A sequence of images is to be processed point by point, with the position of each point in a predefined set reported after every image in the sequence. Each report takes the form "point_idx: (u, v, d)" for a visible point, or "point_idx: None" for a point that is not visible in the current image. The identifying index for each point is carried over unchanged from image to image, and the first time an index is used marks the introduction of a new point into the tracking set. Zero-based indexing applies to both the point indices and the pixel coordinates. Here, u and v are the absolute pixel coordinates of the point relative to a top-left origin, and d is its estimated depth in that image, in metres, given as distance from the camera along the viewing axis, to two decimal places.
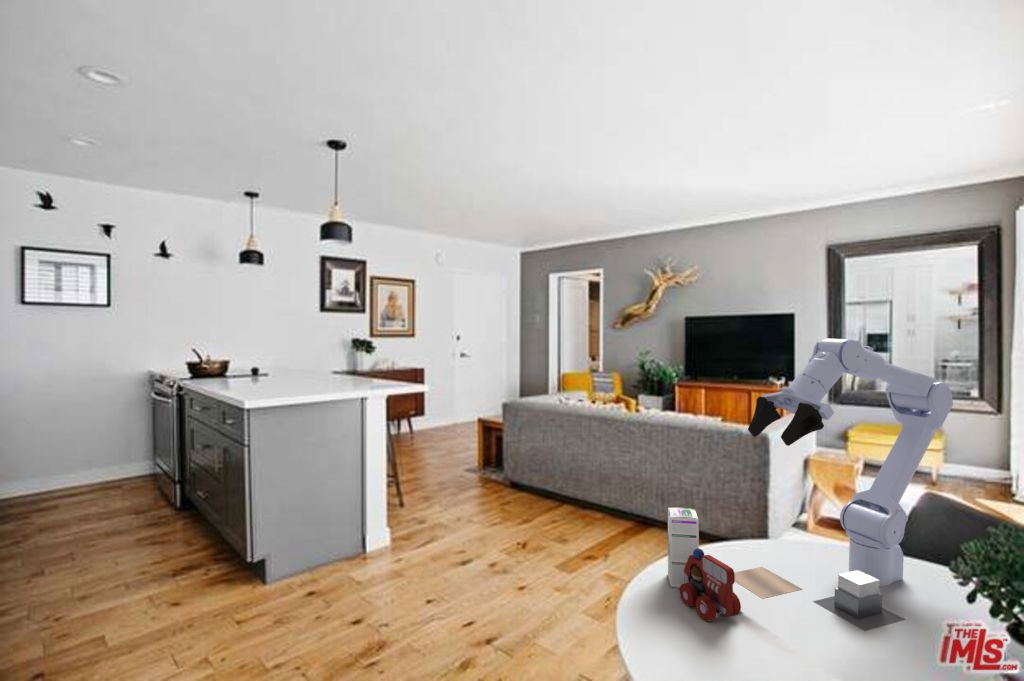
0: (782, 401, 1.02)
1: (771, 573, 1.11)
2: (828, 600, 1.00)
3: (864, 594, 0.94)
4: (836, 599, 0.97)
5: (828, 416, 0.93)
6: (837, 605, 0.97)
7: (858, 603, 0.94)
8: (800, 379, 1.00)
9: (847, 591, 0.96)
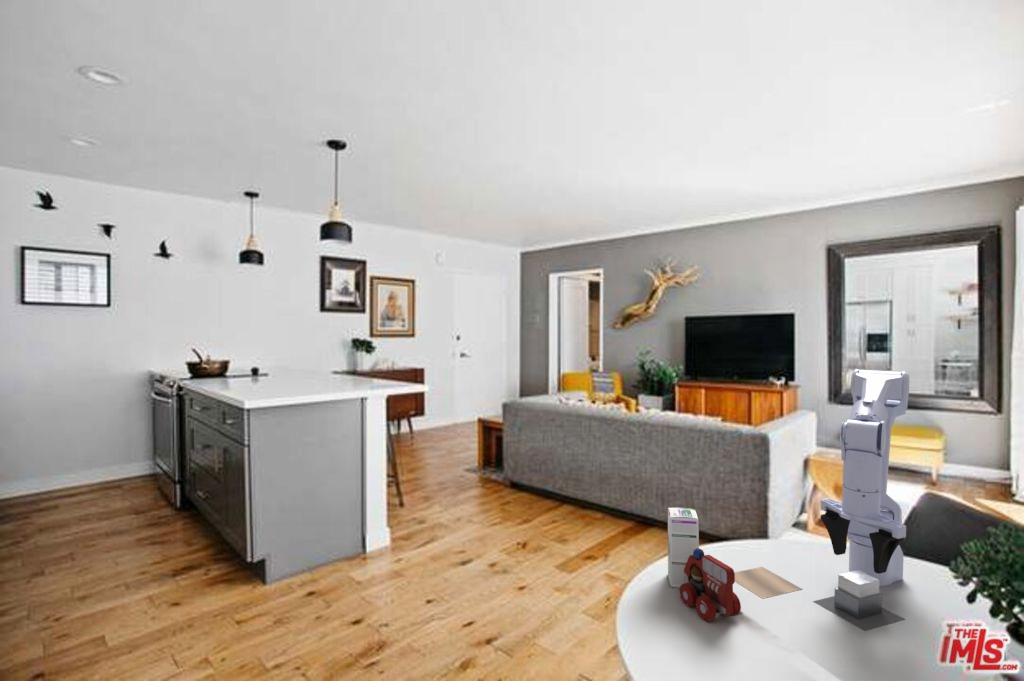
0: None
1: (771, 573, 1.11)
2: (828, 600, 1.00)
3: (864, 594, 0.94)
4: (836, 599, 0.97)
5: (904, 535, 0.89)
6: (837, 605, 0.97)
7: (858, 603, 0.94)
8: (850, 495, 0.95)
9: (847, 591, 0.96)
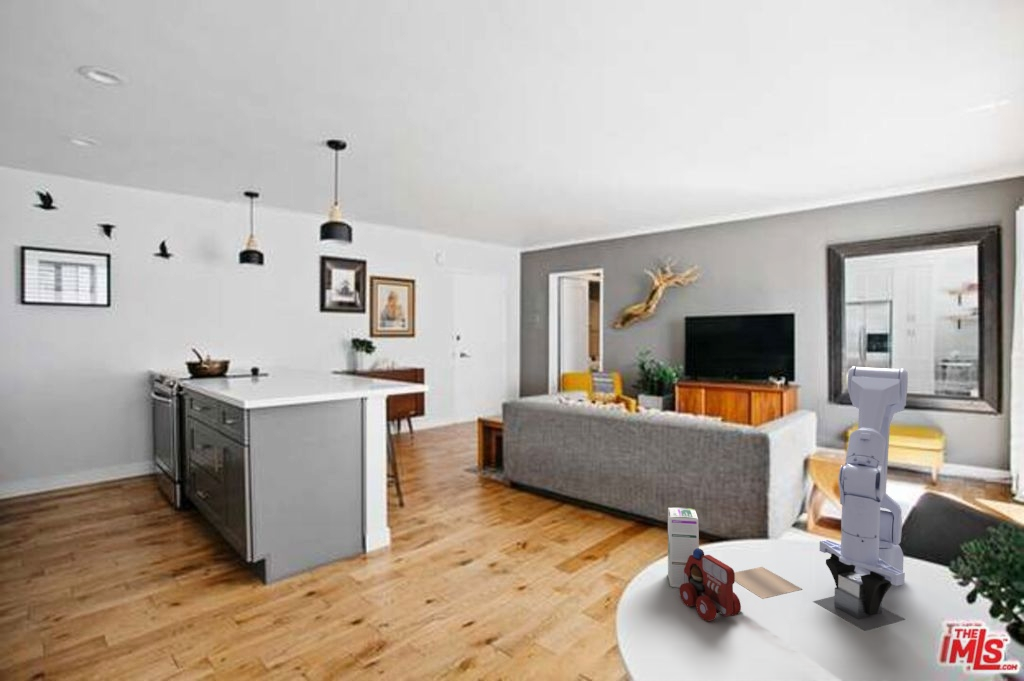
0: None
1: (771, 573, 1.11)
2: (828, 600, 1.00)
3: (864, 594, 0.94)
4: (836, 599, 0.97)
5: (902, 582, 0.90)
6: (837, 605, 0.97)
7: (858, 603, 0.94)
8: (848, 539, 0.95)
9: (847, 591, 0.96)
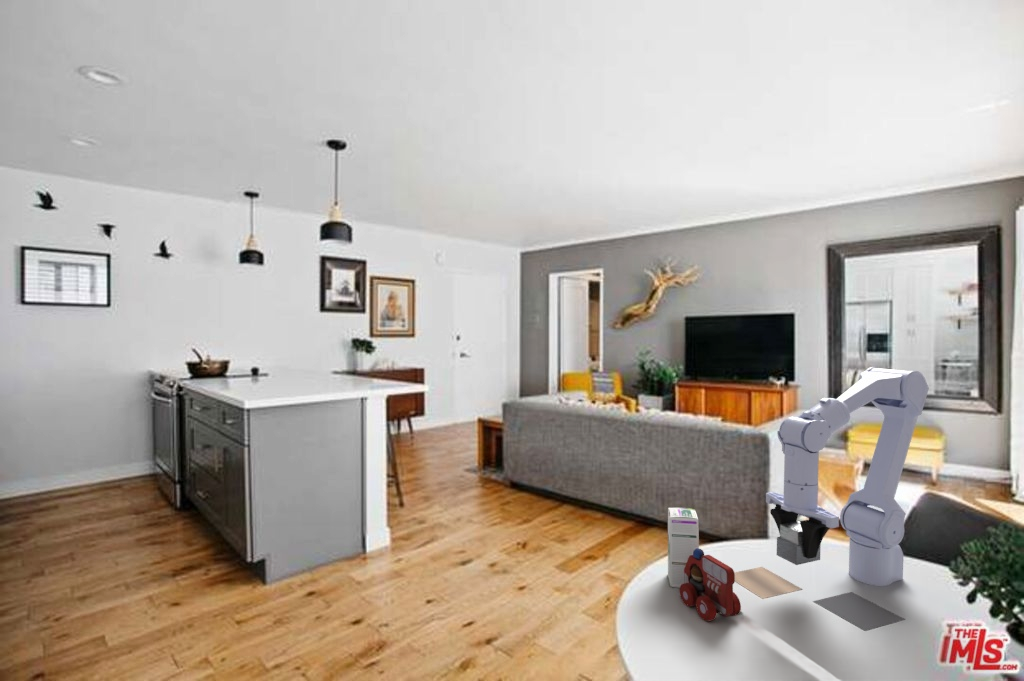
0: None
1: (771, 573, 1.11)
2: (828, 600, 1.00)
3: (803, 541, 1.00)
4: (778, 548, 1.03)
5: (837, 525, 0.96)
6: (779, 553, 1.03)
7: (797, 550, 0.99)
8: (789, 488, 1.01)
9: (787, 539, 1.02)
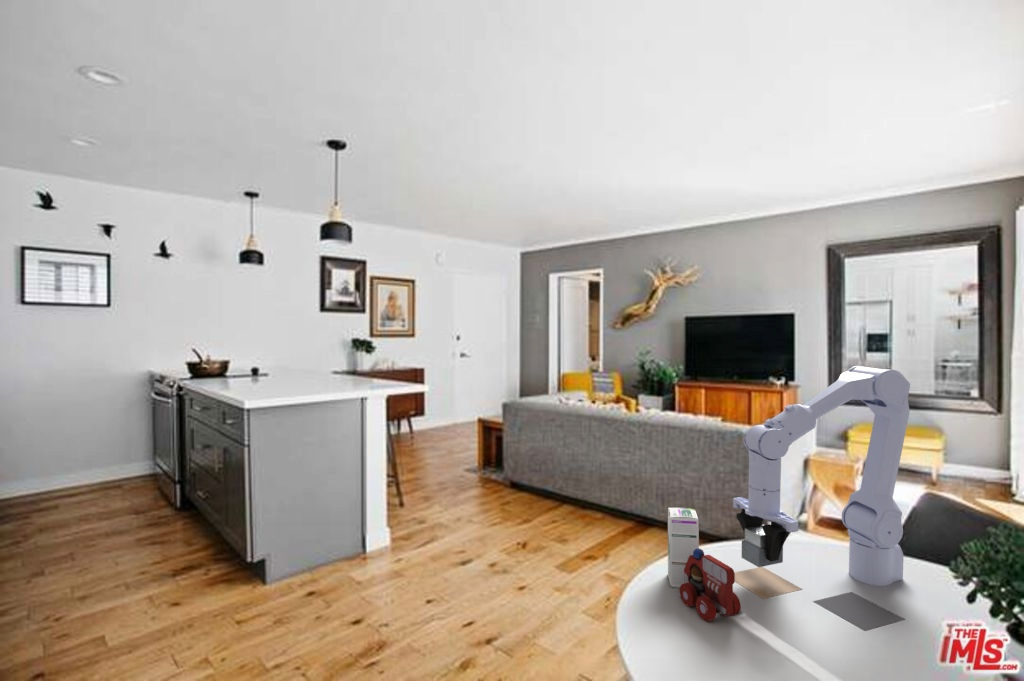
0: None
1: (771, 573, 1.11)
2: (828, 600, 1.00)
3: (765, 544, 1.04)
4: (743, 550, 1.07)
5: (796, 529, 1.00)
6: (744, 555, 1.07)
7: (759, 553, 1.04)
8: (753, 493, 1.05)
9: (751, 542, 1.06)
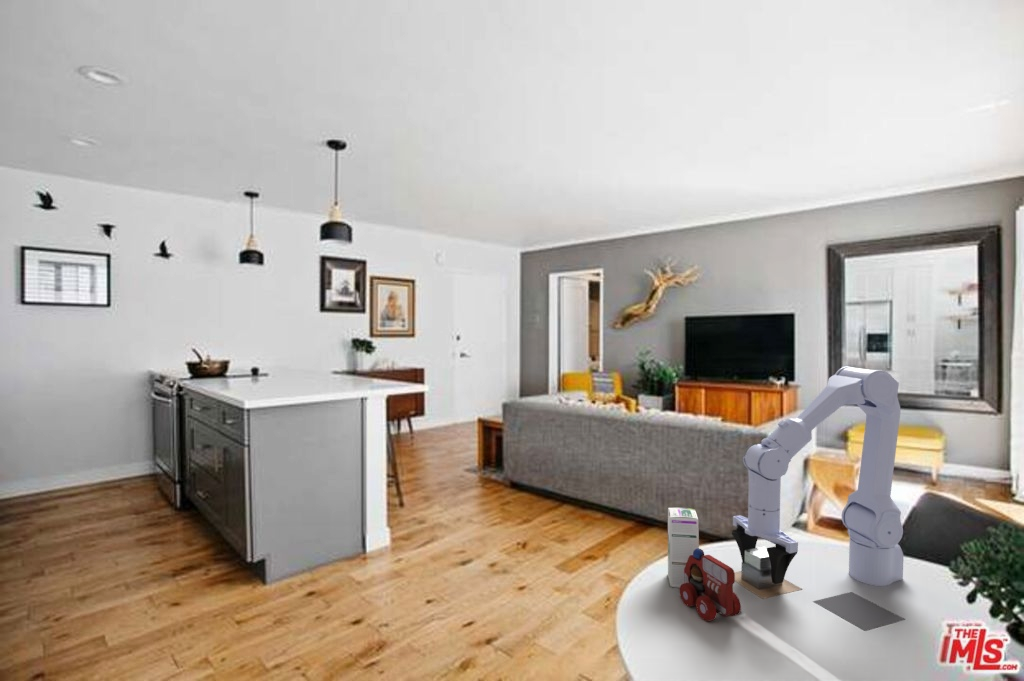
0: None
1: None
2: (828, 600, 1.00)
3: (765, 567, 1.05)
4: (742, 572, 1.08)
5: (796, 550, 1.00)
6: (743, 577, 1.07)
7: (759, 575, 1.04)
8: (753, 513, 1.05)
9: (751, 565, 1.06)
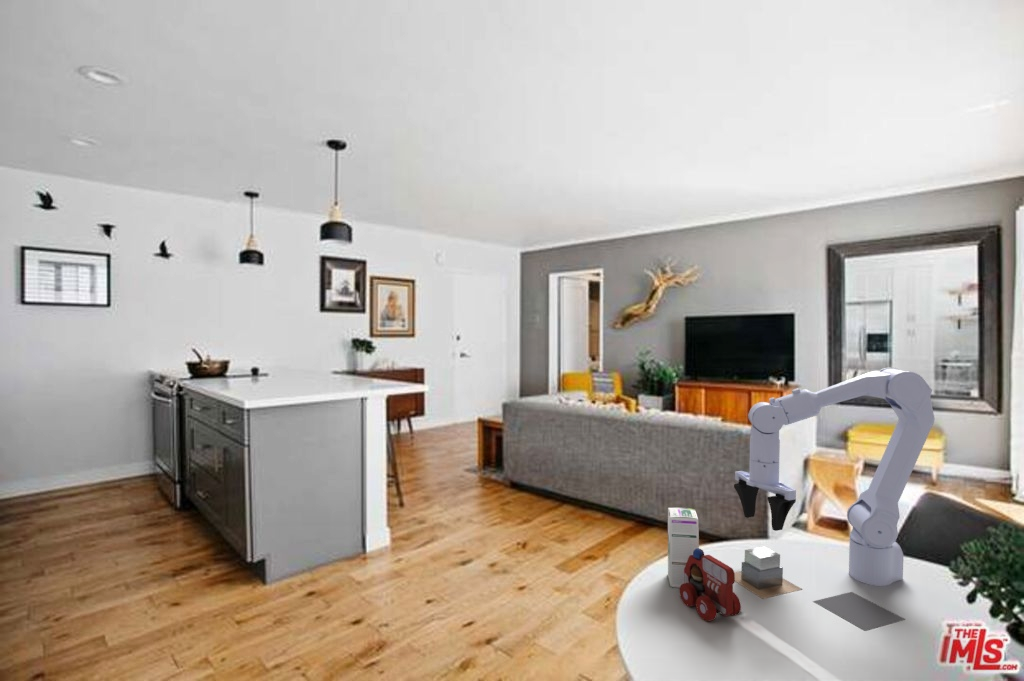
0: None
1: None
2: (828, 600, 1.00)
3: (765, 567, 1.05)
4: (742, 572, 1.08)
5: (794, 497, 1.07)
6: (743, 577, 1.07)
7: (759, 575, 1.04)
8: (754, 466, 1.13)
9: (751, 565, 1.06)
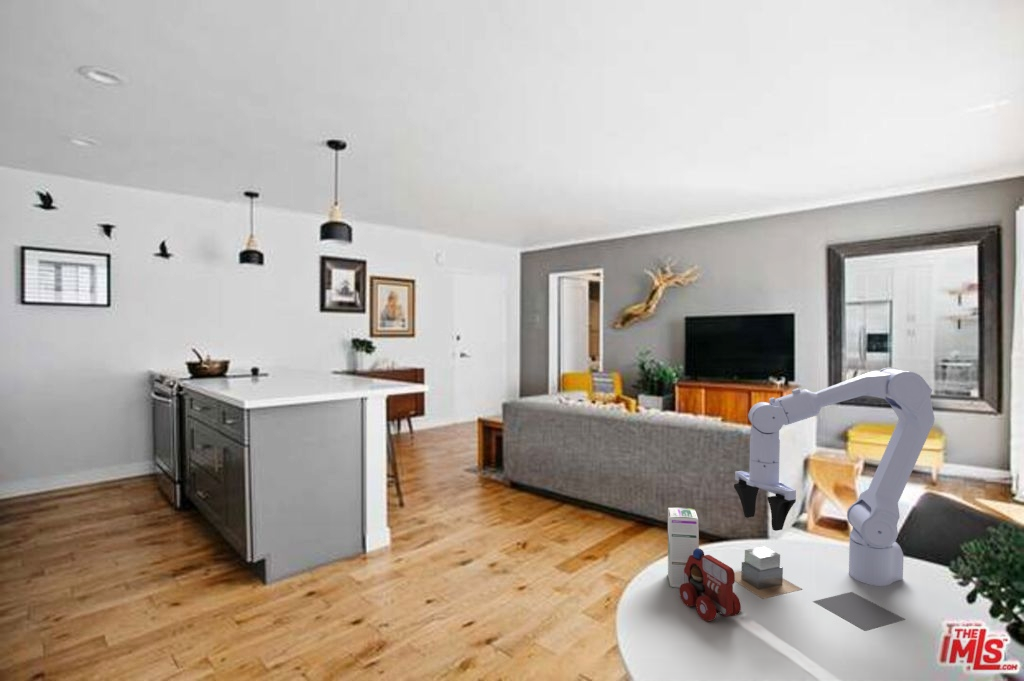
0: None
1: None
2: (828, 600, 1.00)
3: (765, 567, 1.05)
4: (742, 572, 1.08)
5: (794, 497, 1.07)
6: (743, 577, 1.07)
7: (759, 575, 1.04)
8: (754, 466, 1.13)
9: (751, 565, 1.06)
